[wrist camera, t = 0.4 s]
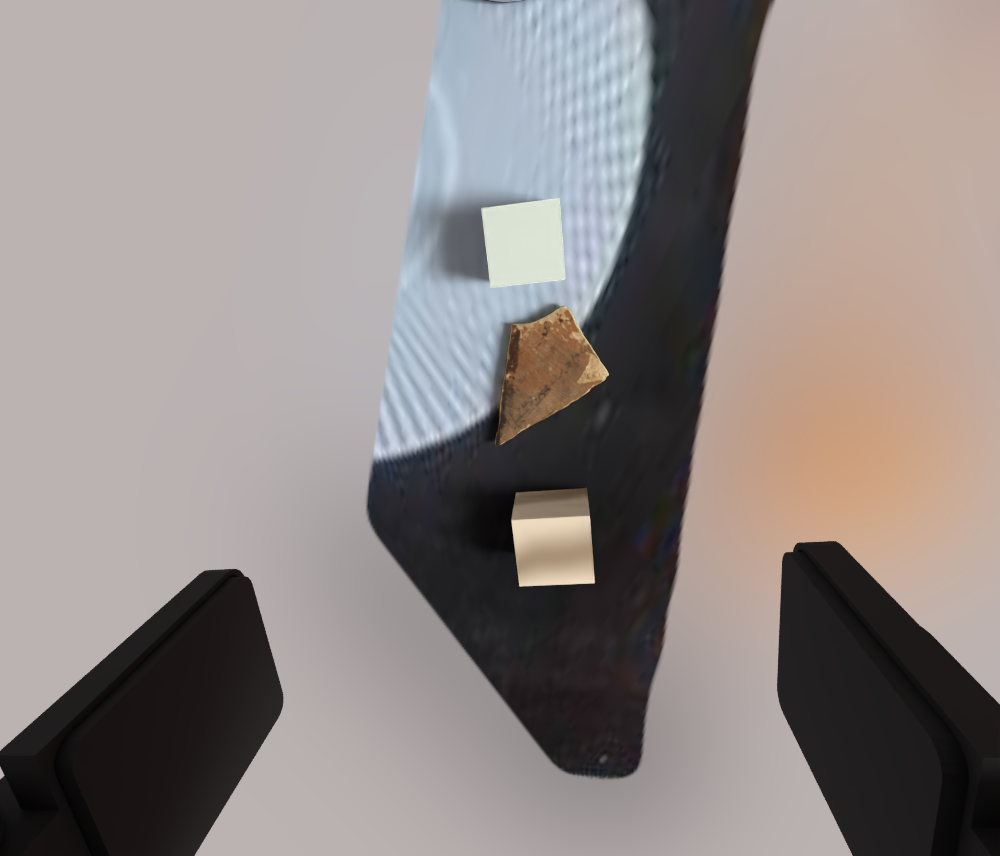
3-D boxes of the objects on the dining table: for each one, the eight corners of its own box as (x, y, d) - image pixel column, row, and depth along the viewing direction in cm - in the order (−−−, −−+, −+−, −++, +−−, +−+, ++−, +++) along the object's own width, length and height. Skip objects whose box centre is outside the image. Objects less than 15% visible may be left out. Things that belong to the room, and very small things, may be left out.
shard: (497, 442, 46) (494, 449, 44) (444, 366, 44) (440, 371, 43) (610, 374, 43) (612, 380, 41) (559, 291, 41) (559, 293, 40)
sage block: (490, 211, 40) (481, 208, 35) (559, 202, 39) (559, 197, 34) (498, 282, 41) (490, 288, 37) (564, 274, 41) (565, 279, 36)
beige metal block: (516, 491, 47) (511, 520, 42) (586, 487, 46) (589, 515, 41) (523, 552, 49) (519, 586, 44) (591, 549, 48) (594, 583, 43)
